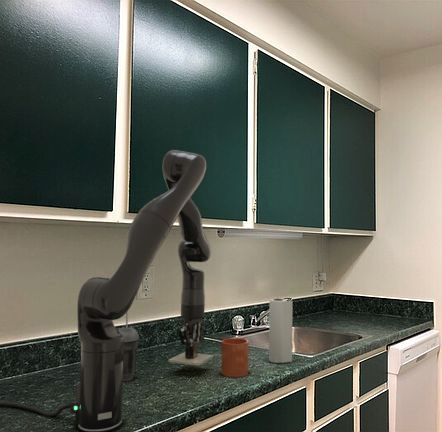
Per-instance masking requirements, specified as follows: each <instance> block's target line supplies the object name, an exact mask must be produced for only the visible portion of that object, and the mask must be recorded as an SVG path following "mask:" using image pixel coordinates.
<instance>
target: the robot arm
mask: <svg viewBox="0 0 442 432" xmlns="http://www.w3.org/2000/svg"><path fill="white" fill-rule="evenodd" d="M161 167H162V168H161V169H162V175H163V178H164V182H165V184H166V187H167V190H168V191H165V192H164V193H161V194H159V196H157V197H155V198H153V199H152V200H150V201H149V202H146V204H144V205H143V206H142V207H141V208H140V209H139V211H138V213H137V214H136V215H135V217H134V219H133V220H132V221H131V223H130V225H129V227H128V229H127V233H126V244H125V254H124V257H123V259H122V261H121V263H120V265H119V266H118V267H117V269H116V271H115V272H114V273H113V274H112V276H111V277H100V276H97V277H92V278H89V279H87V280H86V281H85V282H84V283H82V285H81V286H80V289H79V291H78V295H77V304H76V305H77V306H76V307H77V311H76V312H77V314H76V315H77V335H78V339H79V341H80V346H81V347H80V373H79V374H80V377H79V380H80V381H78V382H77V383H76V384H75V385H76V387H75V400H72V401H70V403H67V404H66V403H65V404H63V405H62V406H60V407H59V408H58V409H57V410H56V411H54V412H49V411H45V410H44V409H41V408H39V407H36V406H31V405H27V404H24V403H18V402H12V401H0V407H1V406H3V407H13V408H19V409H23V410H27V411H31V412H34V413H37V414H40V415H42V416H45V417H49V418H54V417H57V416H59V415H60V414H61V413H62V412H64V410H66V409H69V413H71V414H74V415H75V416H74V417H75V418H74V419H75V420H74V427H75V428H78V430H79V431H81V432H112V431H113V430H116V429H118V428H119V427H120V426H122V424H123V384H124V383H123V382H124V381H123V349H124V337H123V335H122V334H121V333H120V332H119V329H117V327H116V326H115V324H114V321H117V320H120V319H121V318H123V317H124V316H126V313H127V311H128V312H129V310H130V308H131V306H132V305H133V303H134V301H135V298H136V296H137V294H138V291H139V289H140V287H141V285H142V283H143V281H144V278H145V276H146V274H147V272H148V270H149V268H150V267H151V264H152V263H153V261H154V259H155V256H157V253H158V252H159V250H160V248H161V247H162V245H163V244H164V242H165V241H166V238H167V237H168V235H169V234H170V232H171V230H172V228H173V226H174V224H175V222H176V220H178V227H179V233H180V237H181V239H182V240H181V241H180V242H179V243H178V246H177V255H178V259H179V263H180V268H181V274H182V281H181V282H182V283H181V284H182V288H181V296H180V317H181V319H184V320H183V327H182V328H181V327H180V328H178V335H179V339H180V344H181V346H184V347H185V348H184V349H185V350H184V352H185V358H187V359H191V358H192V353H193V347H192V346H193V341H198V345H200V342H201V341H202V340H203V336H204V330H205V325H206V324H205V322H202V320H201V319H202V318H205V310H206V309H205V306H206V304H205V303H206V293H205V279H206V278H205V276H206V275H205V272H204V271H203V270H202V269H198V268H194V267H192V265H191V263H205V262H208V261H209V259H210V258H211V257H212V256H211V255H212V249H211V245H210V243H209V242H210V241H209V240H208V239H207V236H206V235H205V231H204V229H203V220H202V215H201V212H200V210H199V208H198V206H197V205H196V204H195V202H194V200H193V199H192V198H191V197H192V196H193V194H194V193H195V191H196V190H197V189H198V187H199V186H200V184H201V183H202V181H203V179H204V177H205V175H206V172H207V160H206V158H205V157H204V156H203V155H201V154H198V153H194V152H189V151H184V150H178V149H171V150H169V151H168V152H167V153H165V155H164V157H163V159H162V166H161Z"/></svg>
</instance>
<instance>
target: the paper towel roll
mask: <svg viewBox="0 0 442 432" xmlns="http://www.w3.org/2000/svg"><path fill="white" fill-rule="evenodd" d="M293 301H294V300H287V299H285V298H271V299H269V313H268V315H269V319H268V320H269V323H268V329H269V330H268V361H269V362H271V363H275V364H284V363H292V362H293Z"/></svg>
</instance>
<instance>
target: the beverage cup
mask: <svg viewBox="0 0 442 432" xmlns="http://www.w3.org/2000/svg"><path fill="white" fill-rule="evenodd" d="M128 312H129V310H128V311H127V313H126V314H125V326H122V327H121V328H119V329H118V331H119V332H120V333H121V334H122V335H123V337H124V349H123V382H129V381H133V380H134V377H135V372H136V371H135V370H136V362H137V355H138V353H137V352H138V347H139V341H140V338H139V337H140V336H139V333H138V331H137V330H136V329H135V328H134V327H133V326H131V325H130V326H128V325H129V324H128V323H129V322H128V321H129V318H128V317H129V316H128V315H129V313H128Z"/></svg>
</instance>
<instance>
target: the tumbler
mask: <svg viewBox="0 0 442 432" xmlns="http://www.w3.org/2000/svg"><path fill="white" fill-rule="evenodd" d="M220 349H221V351H220V353H221V355H220V374H221V375H222V376H224V377H228V378H241V377H245V376H248V374H249V365H250V361H249V358H250V355H249V354H250V341H249V340H248V339H246V338H241V337H240V338H239V337H229V338H225V339H222V340H221V347H220Z"/></svg>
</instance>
